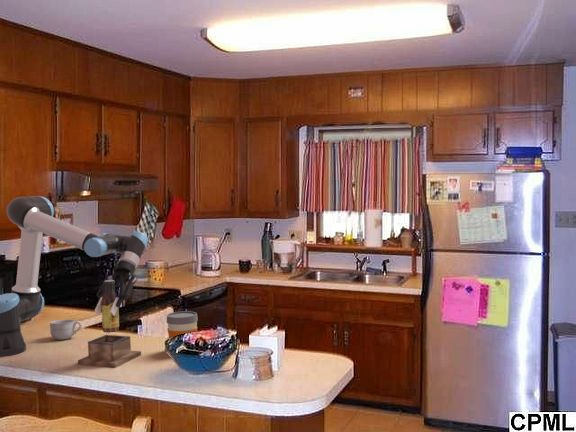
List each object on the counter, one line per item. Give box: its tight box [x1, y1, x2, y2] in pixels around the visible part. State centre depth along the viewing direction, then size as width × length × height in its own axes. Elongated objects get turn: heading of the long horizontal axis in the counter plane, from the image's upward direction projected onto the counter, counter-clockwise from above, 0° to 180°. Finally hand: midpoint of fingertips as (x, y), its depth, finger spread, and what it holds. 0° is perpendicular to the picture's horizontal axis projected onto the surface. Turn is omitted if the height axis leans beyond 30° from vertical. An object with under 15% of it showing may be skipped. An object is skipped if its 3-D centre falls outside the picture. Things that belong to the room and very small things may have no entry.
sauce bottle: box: [101, 280, 120, 334], centre depth 241 cm, size 7×6×20 cm
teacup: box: [49, 318, 83, 340], centre depth 278 cm, size 14×11×8 cm
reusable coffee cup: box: [166, 310, 199, 339], centre depth 252 cm, size 13×13×15 cm
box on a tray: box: [77, 334, 142, 368], centre depth 242 cm, size 17×17×8 cm
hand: (104, 313), depth 238 cm, fingers closed on sauce bottle, 6 cm apart
